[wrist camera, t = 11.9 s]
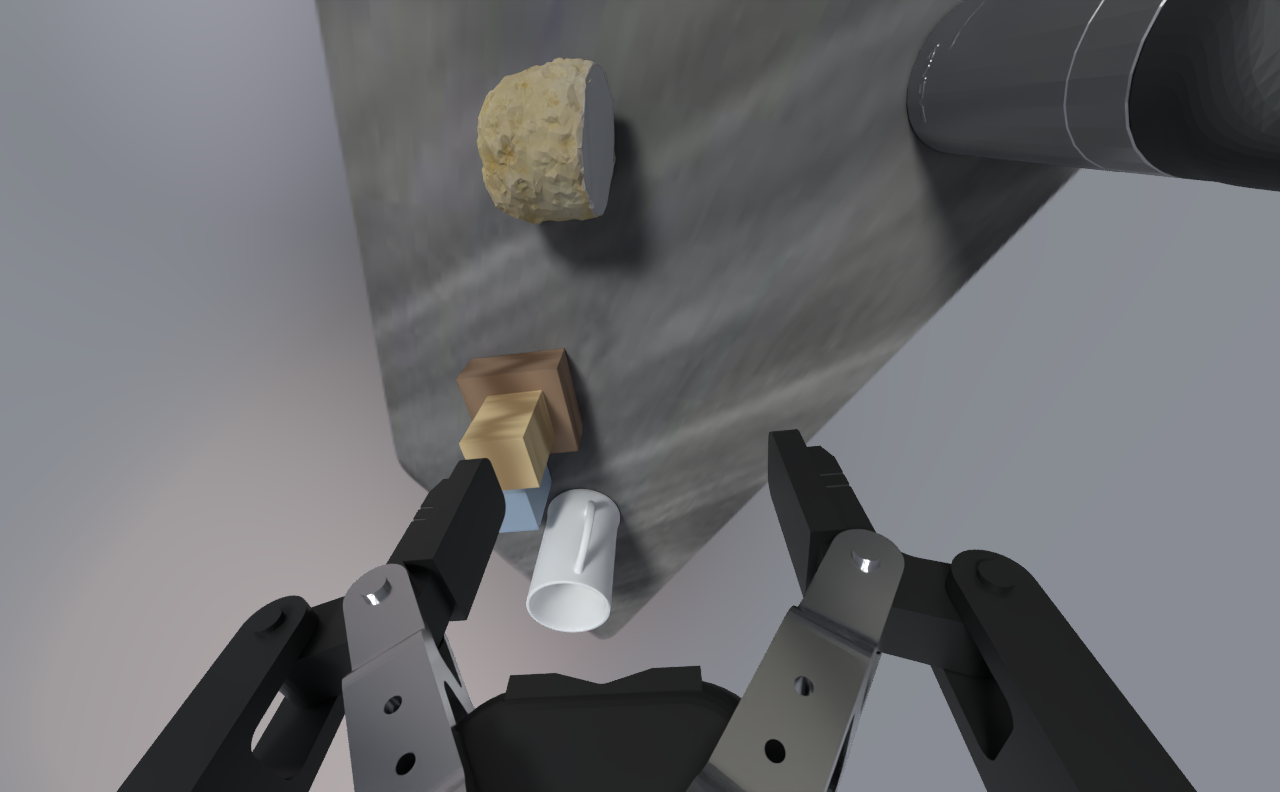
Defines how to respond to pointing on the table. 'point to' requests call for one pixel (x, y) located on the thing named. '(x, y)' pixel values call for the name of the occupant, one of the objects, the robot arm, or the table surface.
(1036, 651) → the robot arm
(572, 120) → the coral
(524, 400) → the oak block
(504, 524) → the slate block
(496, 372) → the walnut slab
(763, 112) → the table surface
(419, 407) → the table surface
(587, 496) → the mug
